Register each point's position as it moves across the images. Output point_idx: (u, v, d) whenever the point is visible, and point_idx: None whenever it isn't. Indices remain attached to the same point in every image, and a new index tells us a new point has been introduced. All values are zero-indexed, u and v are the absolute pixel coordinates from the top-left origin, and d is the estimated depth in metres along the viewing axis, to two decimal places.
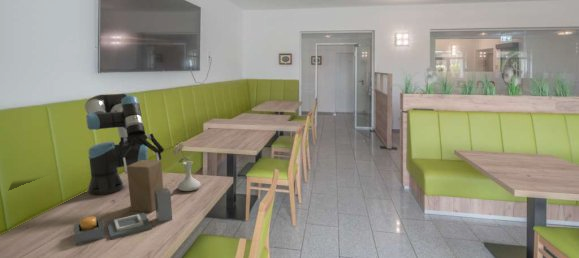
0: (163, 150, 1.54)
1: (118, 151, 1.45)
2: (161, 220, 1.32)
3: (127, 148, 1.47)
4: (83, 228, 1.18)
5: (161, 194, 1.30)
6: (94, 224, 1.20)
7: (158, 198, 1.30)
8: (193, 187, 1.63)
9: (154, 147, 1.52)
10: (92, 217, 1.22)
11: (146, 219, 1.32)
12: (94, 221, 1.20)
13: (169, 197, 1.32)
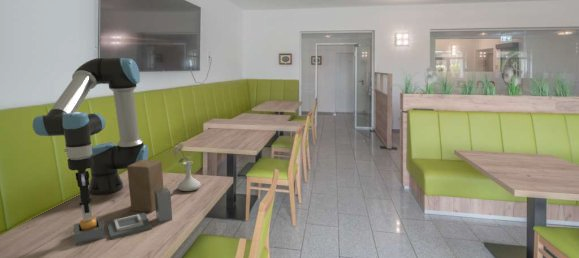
0: (84, 204, 1.15)
1: None
2: (161, 220, 1.32)
3: None
4: (83, 229, 1.18)
5: (161, 194, 1.30)
6: (94, 225, 1.20)
7: (158, 198, 1.30)
8: (193, 187, 1.63)
9: None
10: (92, 218, 1.22)
11: (146, 219, 1.32)
12: (94, 222, 1.20)
13: (169, 197, 1.32)
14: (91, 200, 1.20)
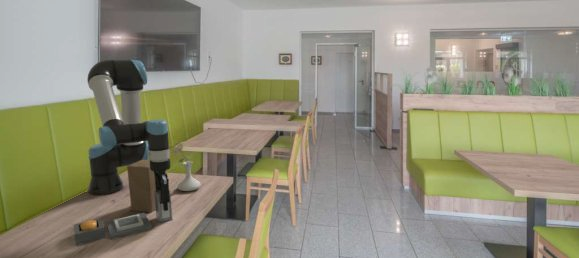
0: (165, 202, 1.28)
1: None
2: (161, 220, 1.32)
3: (157, 186, 1.34)
4: None
5: None
6: None
7: (158, 198, 1.30)
8: (193, 187, 1.63)
9: (161, 195, 1.29)
10: (92, 221, 1.22)
11: (146, 219, 1.32)
12: (94, 225, 1.20)
13: None
14: None
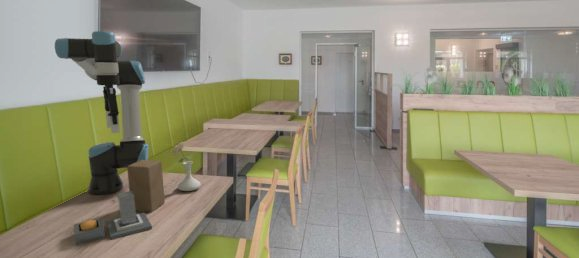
0: (113, 114, 1.18)
1: None
2: (124, 225, 1.25)
3: (105, 101, 1.29)
4: None
5: (124, 198, 1.23)
6: None
7: (120, 202, 1.23)
8: (193, 187, 1.63)
9: (109, 108, 1.21)
10: (92, 221, 1.22)
11: (146, 219, 1.32)
12: (94, 225, 1.20)
13: (133, 201, 1.25)
14: None
